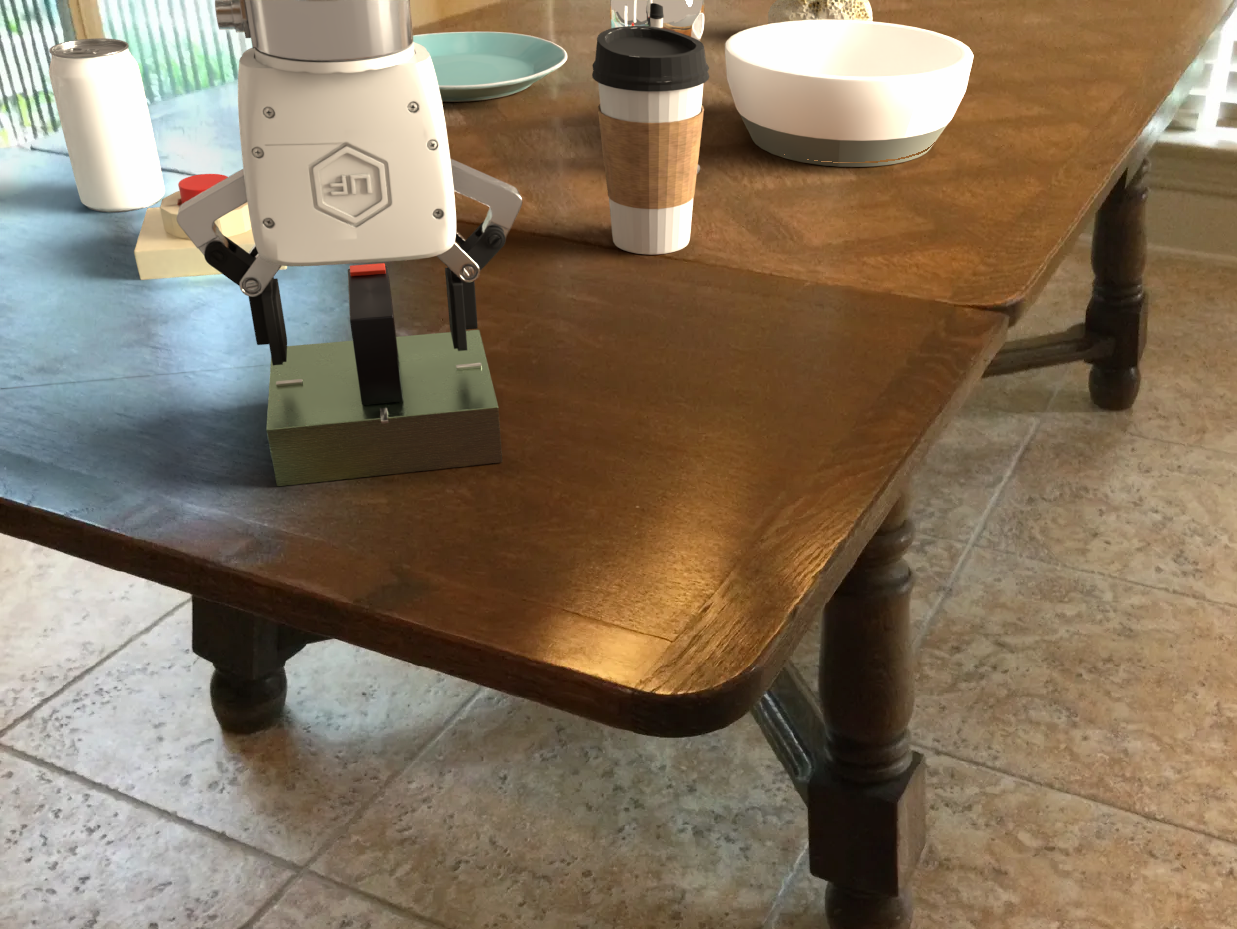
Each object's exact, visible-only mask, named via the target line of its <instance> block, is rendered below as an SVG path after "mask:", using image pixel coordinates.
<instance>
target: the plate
mask: <svg viewBox="0 0 1237 929" xmlns="http://www.w3.org/2000/svg"><path fill="white" fill-rule="evenodd" d="M413 42H415V43H417V44H420V45H422V46H424V47H425V48H426V50H427V51H428V52H429V54H430V57H431V60H432V63H433V67H434V70H435V74H436V77H437V82H438V86H439V91H440V95H441V100H442V103H443V102H445V103H447V102H448V103H456V102H458V103H460V102H477V101H478V102H479V101H485V100H486V101H487V100H491V99H492V100H493V99H498V98H503V97H504V98H505V97H507V96H511V95H515V94H517V93H520V92H522V91H524V90H527V89H528V88H530V87H531V86H532V85H533V84H534V83H536V82H538V81H540V80H541V79H543V78H545V77H546V76H548V75H549V74H551V73H552V72H555V71H556V70H558V69H559V68H561V67H562V66H563V65H564V64H565V63H566V61H567V60H568V53H567V51H566V50H565V49H564V48H563V47H562V46H560V45H559V44H557V43H555V42H553V41H550V40H547V39H544V38H541V37H537V36H533V35H529V34H522V33H515V32H503V31H451V32H434V33H433V32H432V33H421V34H415V35H414V34H413Z"/></svg>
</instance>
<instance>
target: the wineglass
mask: <svg viewBox="0 0 1237 929" xmlns="http://www.w3.org/2000/svg"><path fill="white" fill-rule="evenodd" d="M705 2H706V1H705V0H610V4H609V19H610V20H609V21H610V29H611V28H616V27H625V26H652V27H658V28H664V29H668V30H672V31H675V32H679V33H682V34H685V35H688V36H690V37H693V38H695V39H697V40H699V41H700V42H701V39H702V37H703V34H704V31H705V30H704V29H705V23H706V22H705V21H706V4H705ZM701 171H702V168H701V165H700V164H699V163H698V166H697V175H696V178H697V177H698V176H699V175H700V174H701Z"/></svg>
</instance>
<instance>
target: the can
mask: <svg viewBox="0 0 1237 929" xmlns="http://www.w3.org/2000/svg"><path fill="white" fill-rule="evenodd" d="M129 45H130V44H129V43H128V42H127V41H125V40H121V39H115V38H101V37H99V38H98V37H97V38H96V37H95V38H84V39H74V40H68V41H64V42H60V43H58V44H54V45H52V46H51V47H50V48H49V50H48V52H49V54H50V57H51V59H50V63H49V67H48V75H49V81H50V84H51V90H52V93H53V98H54V100H55V106H56V109H57V113H58V116H59V117H58V118H59V121H60V125H61V129H62V133H63V134H62V135H63V138H64V142H65V145H66V150H67V154H68V157H69V162H70V165H71V170H72V173H73V177H74V181H75V185H76V188H77V192H78V195H79V199H80V202H81V204H82V205H84V206H85V207H87V209H89V210H91V211H94V212H100V213H127V212H133V211H138V210H143V209H147V208H151V207H152V206H155V205H157V204H159V202H161V201H162V199H163V197H164V195H165V193H166V187H165V183H164V177H163V172H162V168H161V163H160V158H159V153H158V149H157V143H156V139H155V135H154V129H153V124H152V120H151V115H150V111H149V107H148V101H147V97H146V92H145V88H144V87H145V86H144V83H143V78H142V73H141V70H140V67H139V63H138V62H137V60H136V59H135V58H134V56H133V55H132V53H131V52H130V50H129V47H130V46H129Z"/></svg>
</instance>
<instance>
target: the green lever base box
mask: <svg viewBox="0 0 1237 929" xmlns="http://www.w3.org/2000/svg"><path fill="white" fill-rule="evenodd" d="M466 338H467V350H465V351H458V349H454V346H453V341H452V336H451V331H449V332H438V333H437V332H436V333H426V334H424V333H423V334H413V335H402V336H396V339H397V347H398V356H399V365H400V373H401V382H402V391H403V401H402V402H392V403H381V404H371V405H362V403H361V396H360V388H359V381H358V374H357V367H356V360H355V353H354V346H353V340H343V341H332V342H331V341H330V342H319V343H308V344H296V345H287V361H286V362H283V365H273V364H272V359H271V358H270V366H269V367H270V368H269V383H268V399H267V413H266V414H267V415H266V428H265V429H266V430H265V431H266V434H267V436H266V437H267V441H268V447H269V451H270V457H271V462H272V468H273V472H274V478H275V483H276V486H277V487H286V486H296V485H305V484H314V483H323V482H334V481H342V480H343V481H344V480H351V479H359V478H361V479H362V478H371V477H378V476H389V475H398V474H407V473H416V472H426V471H435V470H444V469H454V468H463V467H473V466H482V465H492V464H499V463H503V450H502V437H501V425H500V413H499V404H498V400H497V395H496V391H495V388H494V384H493V380H492V376H491V372H490V367H489V363H488V359H487V355H486V352H485V347H484V342H483V338H482V335H481V331H480V329H469V330H466Z"/></svg>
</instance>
